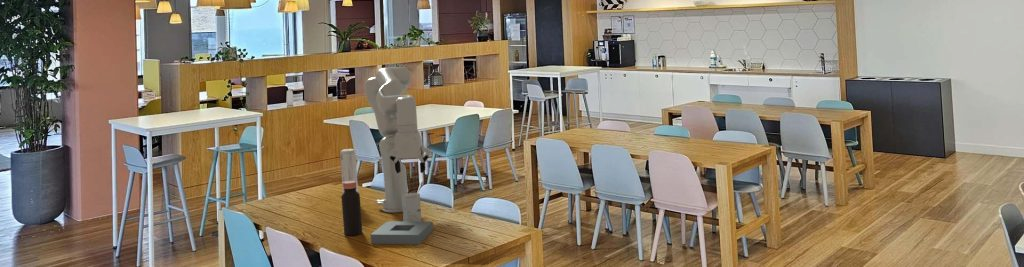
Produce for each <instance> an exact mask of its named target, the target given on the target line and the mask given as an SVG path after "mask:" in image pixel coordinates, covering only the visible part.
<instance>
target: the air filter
mask: <svg viewBox="0 0 1024 267" xmlns="http://www.w3.org/2000/svg"><path fill="white" fill-rule="evenodd" d="M339 155H340V157H339V158H340V168H341V170H340V171H341V181H342V182H341V183H342V186H343V182H345V181H356V191H357V192H358V193H359V186H358V182H359V181H358V173H357V171H358V170H357V158H356V156H357V155H356V151H355V149H354V148H346V149H342V150H341V151H340V153H339ZM343 193H344V188H343V187H342V194H343Z"/></svg>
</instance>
